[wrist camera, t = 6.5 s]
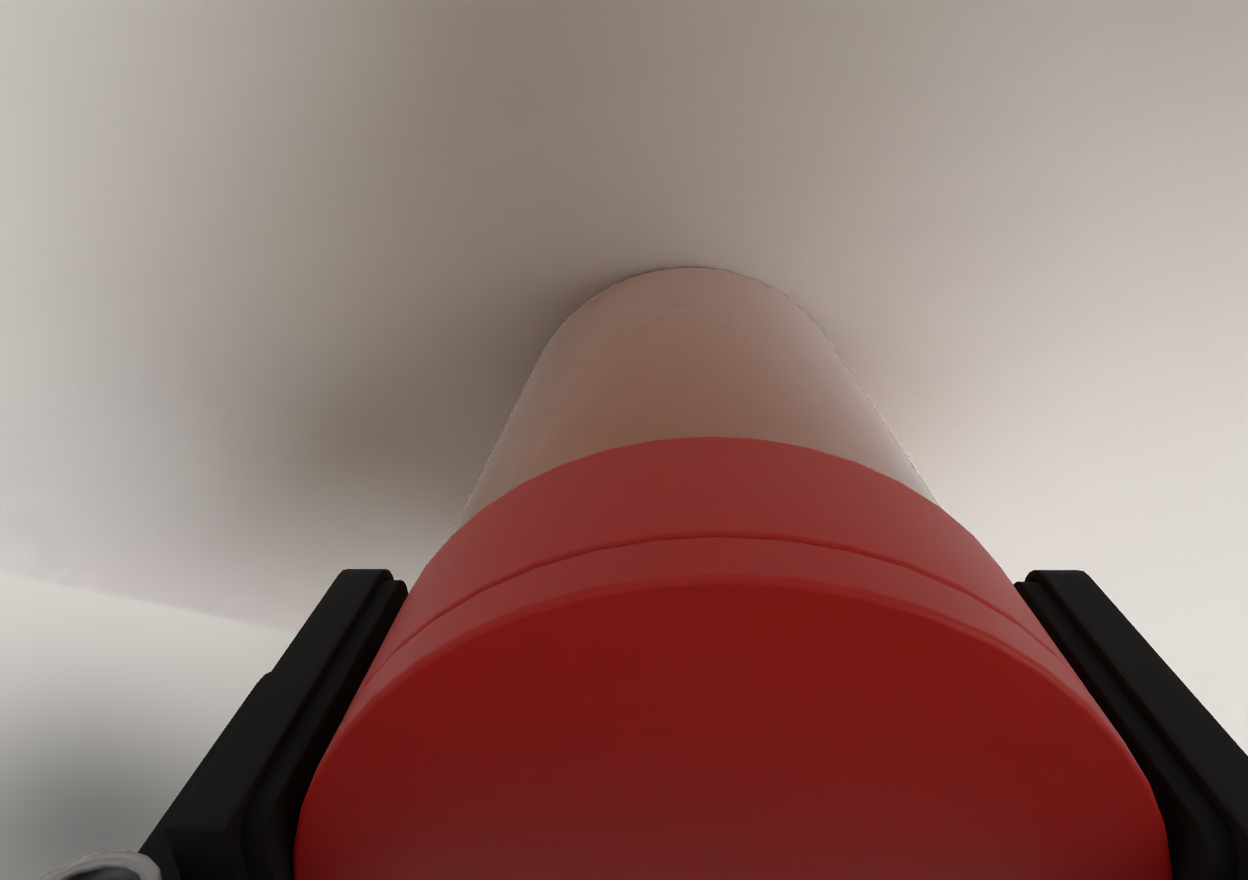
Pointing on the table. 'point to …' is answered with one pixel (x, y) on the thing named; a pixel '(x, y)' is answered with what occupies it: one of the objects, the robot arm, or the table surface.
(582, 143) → the table surface
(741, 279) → the jar
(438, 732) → the lid
